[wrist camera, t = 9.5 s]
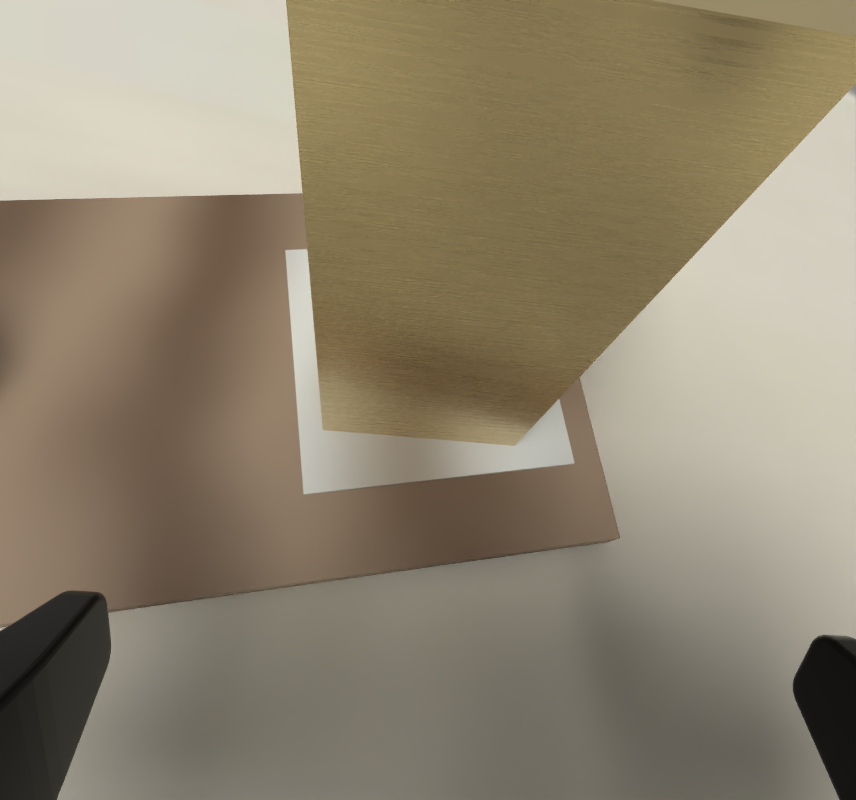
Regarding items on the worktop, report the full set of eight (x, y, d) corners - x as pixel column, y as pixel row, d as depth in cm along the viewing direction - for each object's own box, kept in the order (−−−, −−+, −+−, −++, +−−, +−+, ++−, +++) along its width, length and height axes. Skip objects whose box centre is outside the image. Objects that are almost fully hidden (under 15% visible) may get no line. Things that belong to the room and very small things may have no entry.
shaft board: (524, 203, 21) (566, 104, 17) (607, 541, 17) (688, 514, 13) (-193, 224, 17) (-352, 102, 13) (-308, 670, 13) (-587, 687, 9)
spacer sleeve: (514, 446, 17) (895, 42, 5) (322, 430, 16) (281, -64, 5) (512, 283, 19) (785, -268, 7) (341, 263, 18) (343, -370, 7)
